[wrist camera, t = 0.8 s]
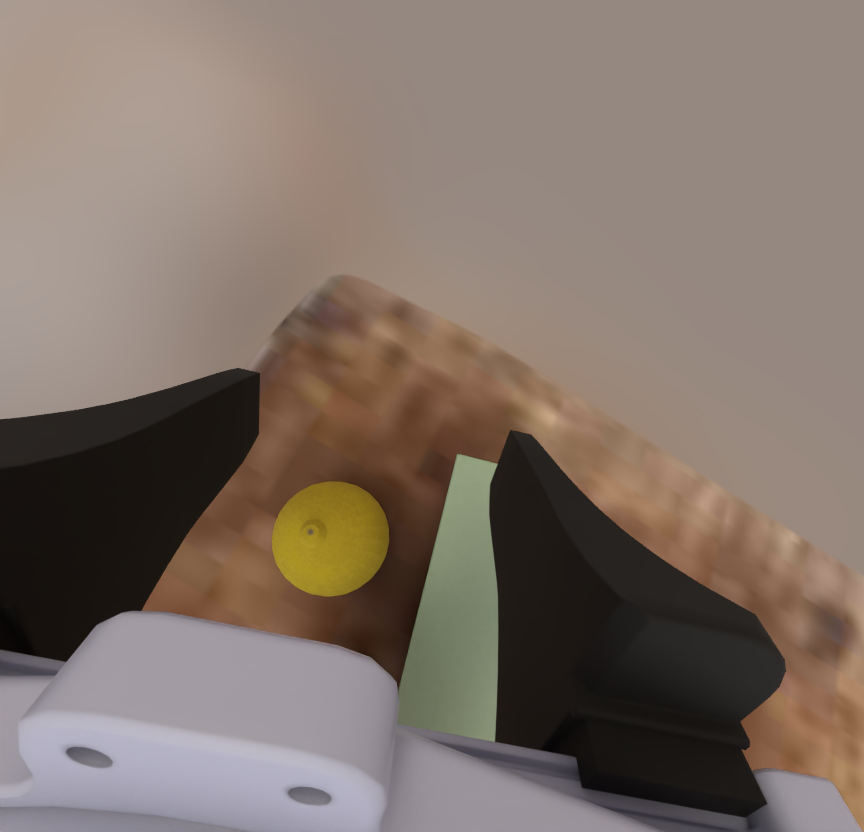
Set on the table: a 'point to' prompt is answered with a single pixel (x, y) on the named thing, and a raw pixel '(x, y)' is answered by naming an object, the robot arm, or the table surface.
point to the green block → (457, 618)
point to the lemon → (330, 538)
